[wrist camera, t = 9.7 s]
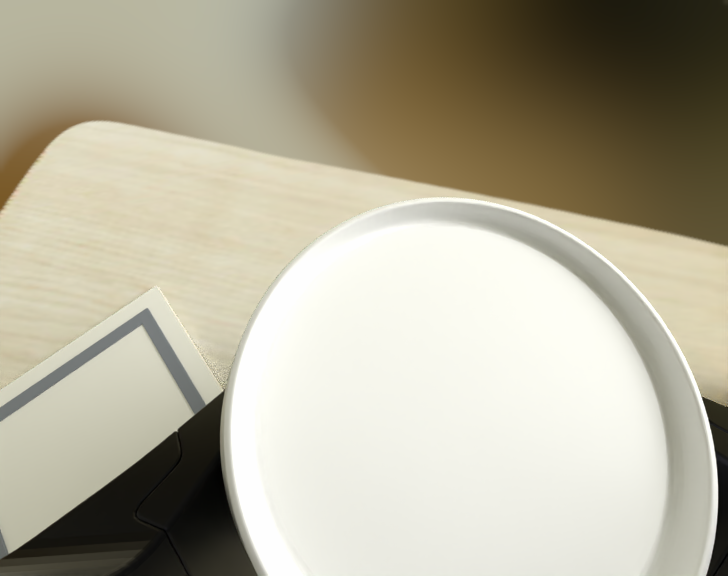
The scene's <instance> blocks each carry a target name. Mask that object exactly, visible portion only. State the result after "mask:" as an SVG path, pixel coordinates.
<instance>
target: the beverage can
mask: <svg viewBox="0 0 728 576" xmlns="http://www.w3.org/2000/svg"><path fill="white" fill-rule="evenodd" d="M220 454H221V466H222V474H223V481H224V486H225V491H226V496H227V500H228V504H229V508H230V511H231V515H232V518H233V521H234V524H235V527H236V529H237V532H238V534H239V537H240V539H241V541H242V544H243V546H244V548H245V550H246V552H247V554H248V556H249V558H250V560H251V562H252V564H253V567H254V569H255V571H256V573H257V575H258V576H706V574H707V571H708V568H709V564H710V560H711V556H712V551H713V545H714V540H715V533H716V525H717V514H718V478H717V465H716V457H715V450H714V444H713V439H712V433H711V429H710V425H709V421H708V417H707V413H706V410H705V407H704V403H703V400H702V397H701V394H700V392H699V389H698V386H697V384H696V381H695V379H694V377H693V374H692V372H691V370H690V368H689V365H688V363H687V361H686V359H685V357H684V355H683V353H682V351H681V350H680V348H679V346H678V344H677V342H676V341H675V339H674V337H673V336H672V334H671V332H670V331H669V329H668V328H667V326H666V325H665V323H664V322H663V320H662V319H661V317H660V316H659V315H658V313H657V312H656V311H655V309H654V308H653V307H652V305H651V304H650V303H649V302H648V300H647V299H646V298H645V297H644V296H643V294H642V293H641V292H640V291H639V290H638V289H637V288H636V287H635V286H634V284H633V283H632V282H631V281H630V280H629V279H628V278H627V277H626V276H625V275H624V274H623V273H622V272H620V271H619V270H618V269H617V268H616V267H615V266H614V265H613V264H612V263H610V262H609V261H608V260H607V259H606V258H604V257H603V256H602V255H601V254H600V253H598V252H597V251H596V250H594V249H593V248H592V247H590V246H589V245H587V244H586V243H584V242H583V241H581V240H580V239H578V238H577V237H575V236H574V235H572V234H570V233H568V232H567V231H565V230H563V229H561V228H559V227H558V226H556V225H554V224H552V223H550V222H548V221H545V220H543V219H541V218H539V217H536V216H534V215H531V214H529V213H526V212H523V211H520V210H517V209H514V208H511V207H508V206H504V205H500V204H496V203H491V202H486V201H481V200H474V199H465V198H447V197H440V198H422V199H413V200H407V201H401V202H396V203H392V204H388V205H385V206H381V207H378V208H375V209H372V210H369V211H366V212H364V213H361V214H359V215H357V216H354V217H352V218H350V219H348V220H346V221H344V222H342V223H340V224H339V225H337V226H335V227H333V228H332V229H330V230H329V231H327V232H326V233H324V234H323V235H321V236H320V237H318V238H317V239H316V240H314V241H313V242H312V243H310V244H309V245H308V246H307V247H306V248H304V249H303V250H302V251H301V252H300V253H299V254H298V255H297V256H296V257H295V258H294V259H293V260H292V261H291V262H290V263H289V264H288V265H287V266H286V267H285V268H284V269H283V270H282V271H281V273H280V274H279V275H278V276H277V277H276V279H275V280H274V281H273V283H272V284H271V285H270V287H269V288H268V290H267V291H266V292H265V294H264V295H263V297H262V299H261V300H260V302H259V303H258V305H257V307H256V309H255V310H254V312H253V314H252V316H251V318H250V320H249V322H248V324H247V327H246V329H245V331H244V333H243V336H242V338H241V341H240V344H239V346H238V349H237V352H236V355H235V357H234V360H233V363H232V366H231V369H230V373H229V376H228V380H227V384H226V388H225V393H224V399H223V405H222V413H221V426H220Z"/></svg>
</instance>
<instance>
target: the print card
mask: <svg viewBox="0 0 728 576" xmlns="http://www.w3.org/2000/svg"><path fill="white" fill-rule="evenodd" d="M223 391H224V390H223V389H222V387H221V386H220V384H219V382H218V381H217V379H216V378H215V376H214V374H213V373H212V371H211V370H210V368H209V366H208V365H207V363H206V362H205V360H204V358H203V357H202V355H201V354H200V352H199V350H198V349H197V347H196V346H195V344H194V342H193V341H192V339H191V338H190V336H189V334H188V333H187V331H186V330H185V328H184V326H183V325H182V323H181V322H180V320H179V318H178V317H177V315H176V314H175V312H174V310H173V309H172V307H171V306H170V304H169V302H168V301H167V299H166V298H165V296H164V294H163V293H162V291H161V290H160V288H159V287H157V286H155V287H153V288H152V289H150V290H149V291H147V292H146V293H144V294H143V295H141V296H140V297H138V298H137V299H135V300H134V301H132V302H131V303H129V304H128V305H126V306H125V307H123V308H122V309H120V310H119V311H117V312H116V313H114V314H113V315H111V316H110V317H108V318H107V319H105V320H104V321H102V322H101V323H99V324H98V325H96V326H95V327H93V328H92V329H90V330H89V331H87V332H86V333H84V334H83V335H81V336H80V337H78V338H77V339H75V340H74V341H72V342H71V343H69V344H68V345H66V346H65V347H63V348H62V349H60V350H59V351H57V352H56V353H54V354H53V355H51V356H50V357H48V358H47V359H45V360H44V361H42V362H41V363H39V364H38V365H36V366H35V367H34V368H32V369H31V370H29V371H28V372H26V373H25V374H23V375H22V376H20V377H19V378H17V379H16V380H14V381H13V382H11V383H10V384H8V385H7V386H5V387H4V388H2V389H1V390H0V559H1V558H3V557H4V556H6V555H8V554H9V553H11V552H13V551H14V550H16V549H17V548H19V547H20V546H22V545H23V544H25V543H26V542H28V541H29V540H31V539H32V538H33V537H35V536H36V535H38V534H39V533H40V532H42V531H43V530H44V529H46V528H47V527H49V526H50V525H51V524H53V523H54V522H55V521H57V520H58V519H60V518H61V517H62V516H64V515H65V514H66V513H68V512H69V511H71V510H72V509H73V508H75V507H76V506H77V505H79V504H80V503H82V502H83V501H84V500H86V499H87V498H88V497H90V496H91V495H93V494H94V493H95V492H97V491H98V490H100V489H101V488H102V487H104V486H105V485H106V484H108V483H109V482H110V481H112V480H113V479H114V478H116V477H117V476H118V475H120V474H121V473H123V472H124V471H125V470H127V469H128V468H129V467H131V466H132V465H133V464H135V463H136V462H137V461H138V460H140V459H141V458H142V457H143V456H145V455H146V454H147V453H148V452H150V451H151V450H152V449H153V448H155V447H156V446H157V445H158V444H160V443H161V442H162V441H163V440H165V439H166V438H167V437H168V436H169V435H171V434H172V433H173V432H174V431H177V430H178V428H179V427H180V426H182V425H183V424H184V423H185V422H186V421H188V420H189V419H190V418H191V417H192V416H194V415H195V414H196V413H197V412H198V411H200V410H201V409H202V408H203V407H204V406H206V405H207V404H208V403H209V402H211V401H212V400H213V399H214V398H215V397H217V396H218V395H219V394H220V393H221V392H223ZM177 432H178V431H177Z"/></svg>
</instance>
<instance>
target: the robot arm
mask: <svg viewBox="0 0 728 576" xmlns="http://www.w3.org/2000/svg"><path fill="white" fill-rule="evenodd" d="M224 393H225V390H224V391H223V392H221V393H220V394H219V395H218V396H217V397H215V398H214V399H213V400H212V401H211V402H209V403H208V404H207V405H206V406H204V407H203V408H202V409H201V410H200V411H198V412H197V413H196V414H195V415H194V416H192V417H191V418H190V419H189V420H188V421H186V422H185V423H184V424H183V425H182V426H180V427H179V428H178V430H177V431H178V432H177V431H174V432H173V433H172V434H171V435H169V436H168V437H167V438H166V439H165V440H163V441H162V442H161V443H160V444H158V445H157V446H156V447H155V448H153V449H152V450H151V451H150V452H148V453H147V454H146V455H145V456H143V457H142V458H141V459H140V460H138V461H137V462H136V463H135V464H133V465H132V466H131V467H129V468H128V469H127V470H125V471H124V472H123V473H121V474H120V475H118V476H117V477H116V478H114V479H113V480H112V481H110V482H109V483H108V484H106V485H105V486H104V487H102V488H101V489H100V490H98V491H97V492H95V493H94V494H93V495H91V496H90V497H88V498H87V499H86V500H84V501H83V502H82V503H80V504H79V505H77V506H76V507H75V508H73V509H72V510H71V511H69V512H68V513H66V514H65V515H64V516H62V517H61V518H60V519H58V520H57V521H55V522H54V523H53V524H51V525H50V526H49V527H47V528H46V529H44V530H43V531H42V532H40V533H39V534H38V535H36V536H35V537H33V538H32V539H31V540H29V541H28V542H26V543H25V544H23V545H22V546H20V547H19V548H17V549H16V550H14V551H13V552H11V553H9V554H8V555H6V556H4V557H3V558H1V559H0V576H258V575H257V573H256V571H255V569H254V567H253V564H252V562H251V560H250V558H249V556H248V554H247V552H246V550H245V548H244V546H243V544H242V541H241V539H240V537H239V534H238V532H237V529H236V527H235V524H234V521H233V518H232V515H231V511H230V508H229V504H228V500H227V496H226V491H225V486H224V481H223V474H222V466H221V454H220V426H221V413H222V405H223V399H224ZM702 400H703V403H704V407H705V410H706V413H707V417H708V421H709V425H710V429H711V433H712V439H713V444H714V450H715V457H716V465H717V478H718V514H717V525H716V533H715V540H714V545H713V551H712V556H711V560H710V564H709V568H708V571H707V574H706V576H728V407H725V406H723V405H720V404H718V403H715V402H713V401H711V400H708V399H706V398H704V397H702Z"/></svg>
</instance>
